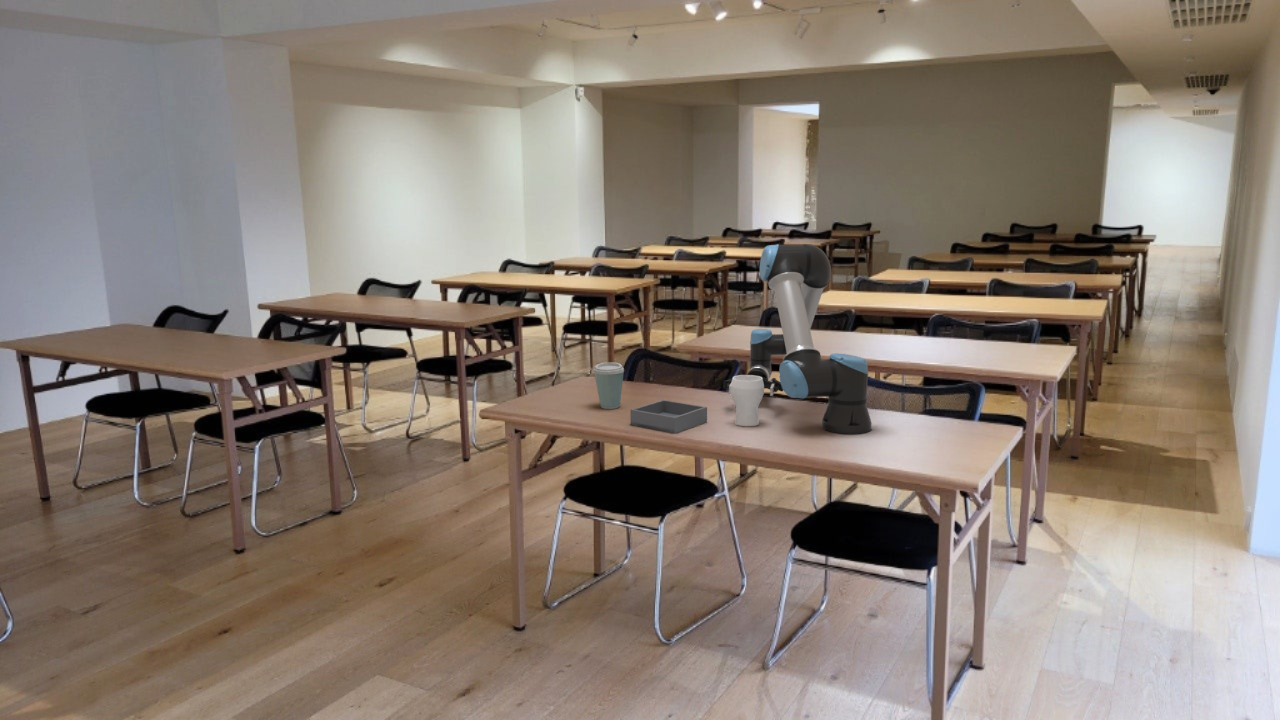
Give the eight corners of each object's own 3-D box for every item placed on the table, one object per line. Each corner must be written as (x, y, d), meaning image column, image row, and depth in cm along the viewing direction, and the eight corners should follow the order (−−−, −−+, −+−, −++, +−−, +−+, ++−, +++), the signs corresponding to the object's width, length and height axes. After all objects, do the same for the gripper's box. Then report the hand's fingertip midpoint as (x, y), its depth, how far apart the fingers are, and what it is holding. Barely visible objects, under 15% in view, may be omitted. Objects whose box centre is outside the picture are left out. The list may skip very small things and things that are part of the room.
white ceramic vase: (765, 427, 289) (766, 381, 287) (732, 428, 289) (732, 381, 287) (761, 419, 300) (761, 374, 297) (728, 419, 300) (729, 374, 297)
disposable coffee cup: (624, 410, 312) (623, 367, 310) (592, 410, 313) (591, 367, 310) (625, 403, 323) (624, 361, 320) (594, 403, 323) (594, 361, 320)
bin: (707, 422, 297) (707, 407, 296) (674, 433, 283) (675, 417, 282) (663, 414, 307) (663, 399, 306) (630, 424, 294) (630, 409, 293)
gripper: (792, 389, 321) (788, 403, 300) (722, 386, 326) (713, 400, 306) (793, 368, 319) (789, 381, 299) (722, 366, 325) (713, 378, 305)
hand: (750, 391), depth 302 cm, fingers open, 13 cm apart
